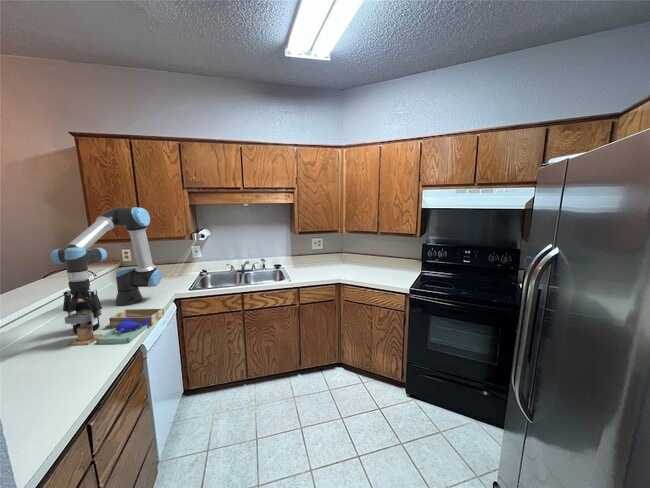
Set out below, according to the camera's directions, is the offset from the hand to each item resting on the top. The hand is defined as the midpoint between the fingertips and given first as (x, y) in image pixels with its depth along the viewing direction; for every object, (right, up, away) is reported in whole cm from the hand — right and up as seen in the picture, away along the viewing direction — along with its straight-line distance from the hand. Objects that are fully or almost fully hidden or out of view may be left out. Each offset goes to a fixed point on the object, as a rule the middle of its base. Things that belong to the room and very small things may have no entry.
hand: (84, 324), depth 134 cm
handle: (0, -8, +1) cm, 8 cm away
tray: (+15, -8, +5) cm, 18 cm away
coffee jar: (-10, -7, +12) cm, 17 cm away
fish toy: (+17, -7, +10) cm, 21 cm away
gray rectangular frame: (0, +3, 0) cm, 3 cm away
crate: (+12, -6, +21) cm, 25 cm away
